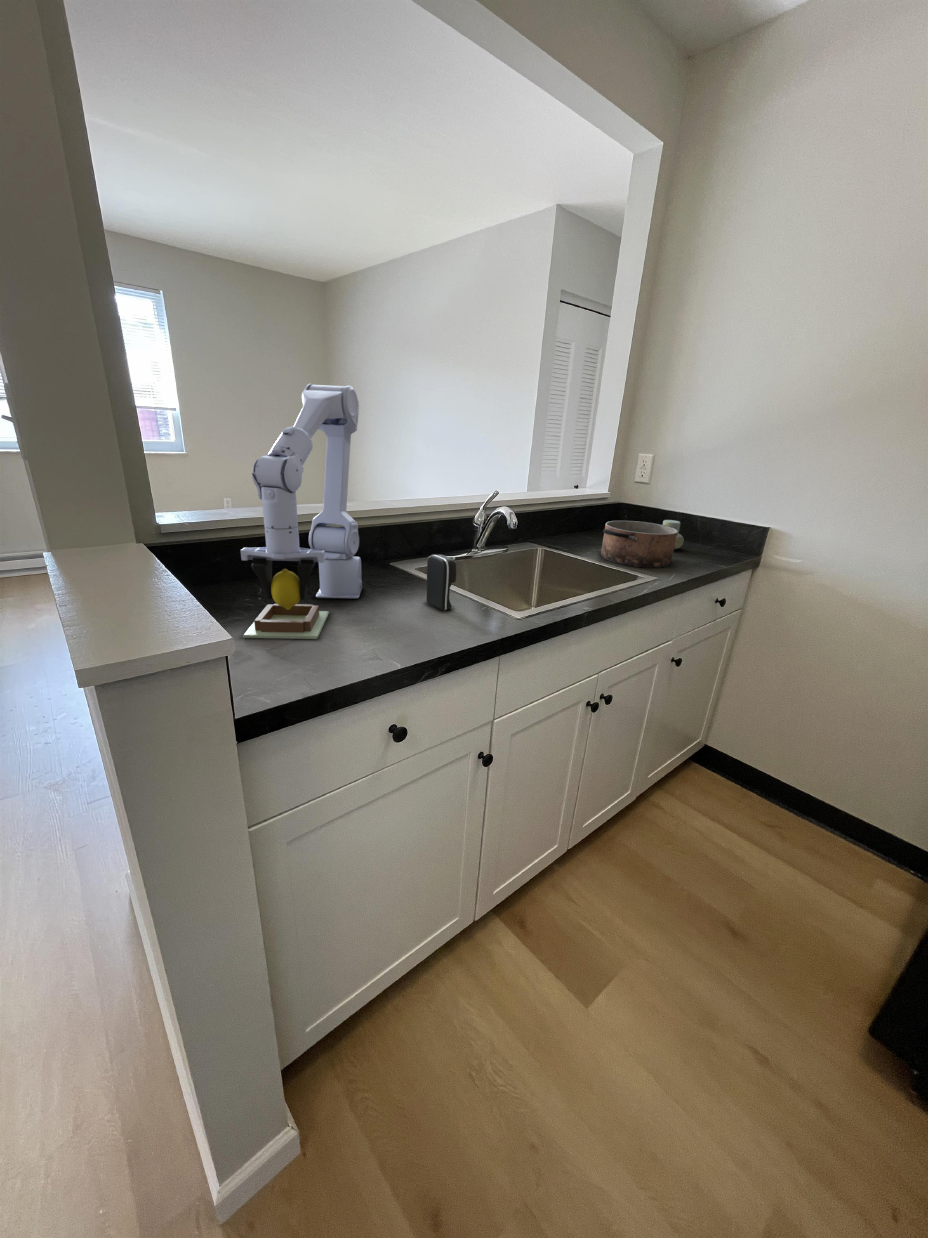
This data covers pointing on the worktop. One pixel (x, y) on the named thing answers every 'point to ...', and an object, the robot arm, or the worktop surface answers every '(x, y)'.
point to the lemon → (286, 589)
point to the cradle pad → (288, 622)
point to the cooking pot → (638, 543)
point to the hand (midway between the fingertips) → (287, 597)
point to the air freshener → (679, 538)
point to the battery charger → (440, 580)
